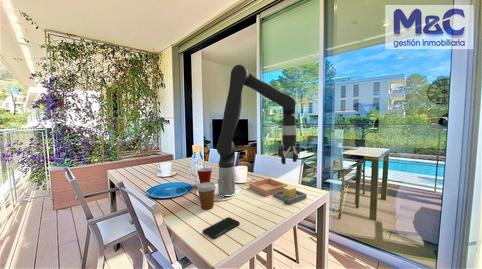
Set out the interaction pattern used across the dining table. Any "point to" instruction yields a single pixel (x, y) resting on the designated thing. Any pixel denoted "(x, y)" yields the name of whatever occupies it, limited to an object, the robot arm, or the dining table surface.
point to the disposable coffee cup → (206, 195)
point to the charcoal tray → (298, 197)
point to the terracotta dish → (267, 186)
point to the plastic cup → (204, 174)
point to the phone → (221, 228)
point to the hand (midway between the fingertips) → (289, 162)
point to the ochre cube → (289, 192)
